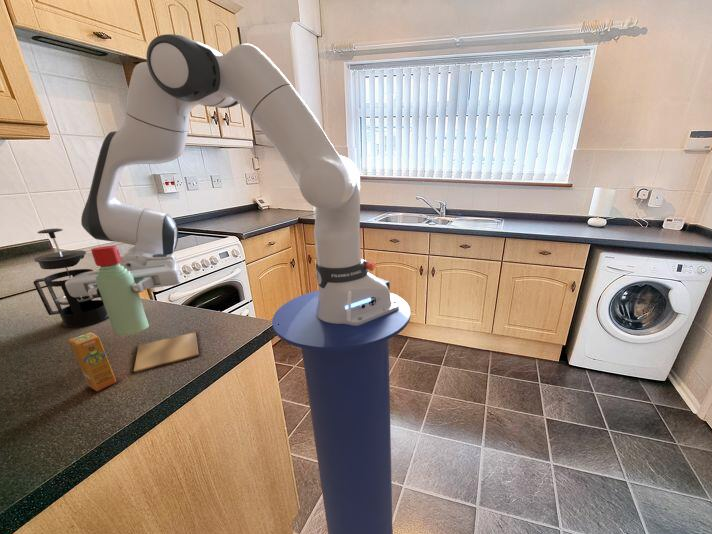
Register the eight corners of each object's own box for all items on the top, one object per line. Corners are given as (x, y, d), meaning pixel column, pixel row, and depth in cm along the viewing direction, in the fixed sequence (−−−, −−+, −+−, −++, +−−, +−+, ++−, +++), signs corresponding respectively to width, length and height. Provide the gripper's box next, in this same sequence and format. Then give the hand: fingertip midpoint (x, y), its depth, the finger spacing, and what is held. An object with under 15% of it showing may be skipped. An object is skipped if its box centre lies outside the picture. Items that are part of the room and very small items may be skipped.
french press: (117, 307, 92) (85, 223, 83) (110, 321, 85) (74, 230, 75) (61, 317, 87) (19, 228, 78) (48, 332, 79) (1, 236, 70)
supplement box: (97, 392, 60) (74, 344, 56) (88, 386, 61) (65, 339, 57) (118, 382, 62) (98, 335, 58) (109, 376, 64) (90, 330, 60)
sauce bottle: (149, 321, 77) (125, 246, 71) (147, 330, 72) (121, 250, 66) (117, 328, 74) (88, 250, 68) (112, 338, 69) (81, 254, 63)
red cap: (123, 260, 71) (118, 245, 70) (120, 263, 68) (115, 247, 66) (98, 263, 69) (93, 247, 68) (94, 267, 66) (88, 250, 64)
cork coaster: (195, 333, 79) (195, 332, 79) (198, 355, 70) (198, 354, 70) (138, 346, 74) (138, 345, 73) (134, 372, 65) (133, 370, 65)
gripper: (77, 263, 76) (43, 284, 64) (181, 253, 82) (167, 271, 70) (88, 289, 78) (58, 314, 67) (188, 277, 85) (176, 298, 73)
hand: (115, 292), depth 69 cm, fingers closed on sauce bottle, 6 cm apart
